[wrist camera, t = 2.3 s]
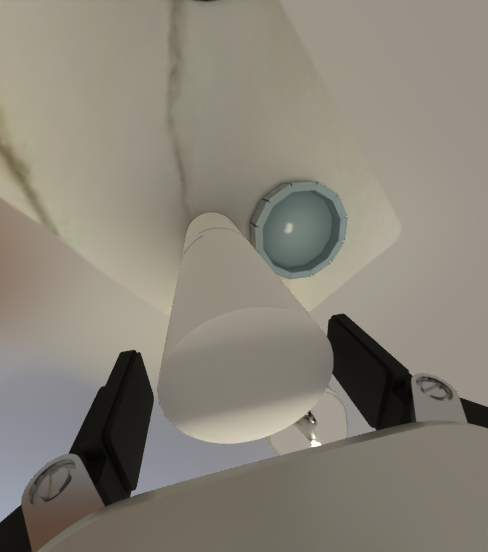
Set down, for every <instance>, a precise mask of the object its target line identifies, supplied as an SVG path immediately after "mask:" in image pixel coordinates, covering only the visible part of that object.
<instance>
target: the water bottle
mask: <svg viewBox="0 0 488 552" xmlns="http://www.w3.org/2000/svg"><path fill="white" fill-rule="evenodd" d="M347 432H348V419H347V412H346V409H345V406H344V404H343V402H342V401H341V400H340V398H339V396H338V395H337V393H336V392H335V391H334V390H333V389H332V388H331V387H330V386H329V384H328V386H327V388H326V390H325V392H324V394H323V395H322V396H321V398H320V399H319V401H318V402H317V403H316V404H315V405H314V407H313V408H312V409H311V410H310V411H309V412H308V413H307V414H305V415H304V416H303V417H302V418H300V419H299V420H298V421H296V422H295V423H293V424H292V425H290V426H288V427H287V428H285V429H283V430H281V431H279V432H277V433H274V434H272V435H270V436H267V437H266V439H267V441H268V444H269V446H270V447H271V449H272V450H273V451H274V452H275V453H276V454H277V455H278V456H280V455H284V454H288V453H291V452H295V451H299V450H303V449H307V448H311V447H314V446H318V445H322V444H326V443H330V442H334V441H338V440H342V439H345V438H347Z"/></svg>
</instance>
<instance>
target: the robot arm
mask: <svg viewBox="0 0 488 552" xmlns="http://www.w3.org/2000/svg"><path fill="white" fill-rule="evenodd" d="M327 338H328V340H329V341H330V344H331V347H332V351H333V371H332V374H333V375H334V376H335V378H336V379H337V380H338V382H339V383H340V385H341V386H342V388H343V389H344V390H345V392H346V393H347V394H348V396H349V397H350V399H351V400H352V401H353V403H354V404H355V406H356V407H357V408H358V410H359V411H360V413H361V414H362V415H363V417H364V418H365V420H366V421H367V422H368V424H369V425H370V426H371V427H373V428H375V429H376V430H377V431H373V432H369V433H366V434H361V435H358V436H353V437H349V438H345V439H342V440H338V441H334V442H330V443H326V444H322V445H318V446H314V447H311V448H307V449H303V450H299V451H295V452H291V453H288V454H284V455H280V456H277V457H273V458H269V459H265V460H261V461H257V462H254V463H250V464H247V465H243V466H239V467H235V468H231V469H228V470H224V471H220V472H216V473H213V474H209V475H206V476H202V477H198V478H194V479H190V480H187V481H183V482H180V483H176V484H173V485H169V486H166V487H162V488H159V489H155V490H152V491H149V492H145V493H142V494H138V495H136V496H133V497H130V495H131V491H133V490H135V489H136V487H137V483H138V477H139V473H140V468H141V463H142V457H143V452H144V447H145V443H146V437H147V432H148V427H149V422H150V416H151V412H152V407H153V402H154V396H153V392H152V389H151V385H150V382H149V379H148V376H147V372H146V369H145V366H144V362H143V359H142V356H141V353H140V352H138V353H137V352H136V351H135V350H130V351H125V352H121V353H120V354H119V357H118V359H117V361H116V363H115V366H114V368H113V370H112V372H111V374H110V376H109V379H108V381H107V384H106V385H105V386H103V387H101V388H100V389H99V391H98V393H97V395H96V397H95V399H94V401H93V403H92V405H91V408H90V410H89V412H88V414H87V416H86V418H85V420H84V422H83V425H82V426H81V429H80V431H79V433H78V435H77V437H76V439H75V441H74V443H73V446H72V447H71V450H70V452H69V454H66V455H62V456H60V457H57V458H55V459H54V460H52V461H50V462H49V463H47V464H46V465H45V466H44V467H42V468H41V469H40V470H39V471H38V472H37V473H36V474H35V475H34V477H33V478H32V479H31V480H30V482H29V483H28V485H27V487H26V488H25V490H24V493H23V495H22V502H21V505H20V506H19V507H18V508H17V509H15V511H13V512H12V513H11V514H10V515H8V516H7V517H6V518H5V519H4V520H3V521H2V522H0V552H488V407H486V406H483V405H480V404H477V403H474V402H471V401H468V400H466V399H463V398H460V397H459V395H458V393H457V392H456V390H455V389H454V388H453V387H452V386H451V385H450V384H448V383H447V382H446V381H444V380H442V379H440V378H438V377H436V376H433V375H430V374H424V373H422V374H416V375H414V376H412V375H411V374H410V373H409V370H408V369H406V368H405V367H404V366H403V365H402V364H401V363H399V361H397V360H396V359H395V358H394V357H393V356H392V355H391V354H389V353H388V352H387V351H386V350H385V349H384V348H383V347H381V346H380V345H379V344H378V343H377V342H376V341H375V340H374V339H372V338H371V337H370V336H369V335H368V334H367V333H365V332H364V331H363V330H362V329H361V328H360V327H359V326H358V325H357V324H355V323H354V322H353V321H352V320H351V319H350V318H348V317H347V316H346V315H345V314H338V315H333V316H332V317H331V319H329V323H328V333H327Z"/></svg>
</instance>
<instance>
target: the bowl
mask: <svg viewBox="0 0 488 552" xmlns="http://www.w3.org/2000/svg"><path fill="white" fill-rule="evenodd" d="M346 216H347V214H346V212H345V209H344V207H343V204H342V202H341V200H340V197H339V195H337V193H335V192H334V191H332V190H330V189H329V188H327V187H326V186H324V185H322V184H321V183H319V182H314V181H304V182H291V183H284V184H281V185H279V186H278V187H277V188H275V189H274V190H273V191H271V192H270V193H268V194H267V195H266V196H264V197H263V200H261V201H260V203H259V205H258V207H257V209H256V211H255V213H254V215H253V217H252V219H251V222H252V223H250V230H251V245H252V247H253V248H254V249H255V250H256V251H257V253H258V254H259V255H260V256H261V257H262V258H263V260H264V261H265V262H266V263H267V264H268V266H269V267H270V268H271V269H272V270H273V272H274V273H275V274H277V275H280V276H282V277H284V278H287V279H296V278H303V277H310V276H311V275H312V276H313V275H314V274H316V273H317V272H319V271H320V270H322V269H323V268H325V267H326V266H328V265H329V264H330V261H331V262H332V261H333V260H334V258H335V256H336V255H337V253H338V252H339V250H340V248H341V247H342V245H343V243H344V242H343V241H344V240H345V235H346V226H347V217H346Z"/></svg>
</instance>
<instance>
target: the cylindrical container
mask: <svg viewBox="0 0 488 552" xmlns="http://www.w3.org/2000/svg"><path fill="white" fill-rule="evenodd" d="M332 371H333V351H332V347H331V344H330V341H329V340H328V338H327V336H326V334H325V333H324V331H323V330H322V329H321V328H320V326H319V325H318V324H317V323H316V322H315V320H314V319H313V318H312V317H311V316H310V315H309V313H308V312H307V311H306V310H305V309H304V307H303V306H302V305H301V304H300V303H299V301H298V300H297V299H296V298H295V297H294V295H293V294H292V293H291V292H290V291H289V289H288V288H287V287H286V286H285V285H284V284H283V282H282V281H281V280H280V279H279V278H278V276H277V275H276V274H275V273H274V272H273V270H272V269H271V268H270V267H269V266H268V264H267V263H266V262H265V261H264V260H263V258H262V257H261V256H260V255H259V254H258V253H257V251H256V250H255V249H254V248H253V247H252V245H251V244H250V243H249V242H248V241H247V239H246V238H245V237H244V236H243V235H242V233H241V232H240V231H239V230H238V229H237V227H236V226H235V225H234V224H233V223H232V222H231V221H230V219H228V218H227V217H226V216H224V215H222V214H219V213H213V212H209V213H204V214H201V215H199V216H198V217H196V218H195V219H194V220H193V221H192V222H191V223H190V225H189V227H188V229H187V233H186V238H185V243H184V248H183V253H182V259H181V264H180V269H179V274H178V279H177V284H176V289H175V295H174V300H173V305H172V310H171V316H170V321H169V326H168V332H167V337H166V342H165V347H164V353H163V358H162V363H161V368H160V374H159V380H158V388H157V392H158V398H159V404H160V406H161V408H162V410H163V413H164V415H165V416H166V418H167V419H168V420H169V421H170V422H171V423H172V424H173V425H174V426H175V427H177V428H178V429H179V430H180V431H182V432H183V433H185V434H187V435H189V436H191V437H194V438H196V439H200V440H204V441H207V442H215V443H224V444H225V443H241V442H247V441H253V440H257V439H260V438H263V437H267V436H270V435H272V434H274V433H277V432H279V431H281V430H283V429H285V428H287V427H288V426H290V425H292V424H293V423H295V422H296V421H298V420H299V419H300V418H302V417H303V416H304V415H305V414H307V413H308V412H309V411H310V410H311V409H312V408H313V407H314V405H315V404H316V403H317V402H318V401H319V399H320V398H321V396H322V395H323V394H324V392H325V390H326V388H327V386H328V384H329V382H330V379H331V375H332Z"/></svg>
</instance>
